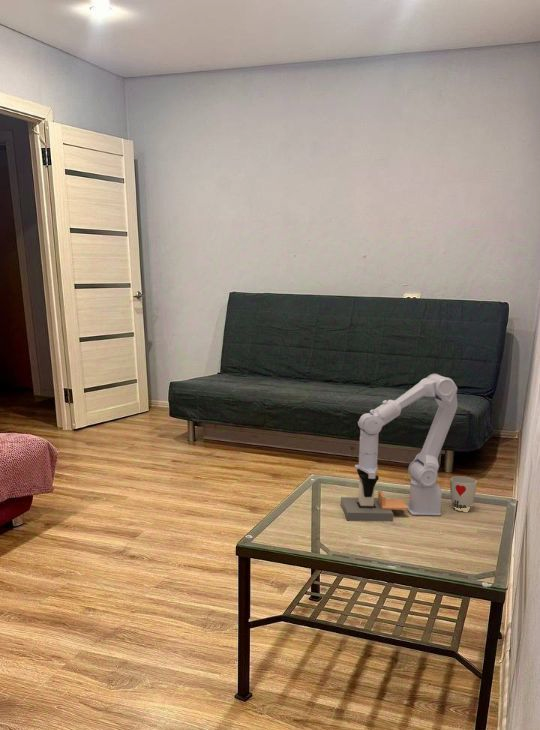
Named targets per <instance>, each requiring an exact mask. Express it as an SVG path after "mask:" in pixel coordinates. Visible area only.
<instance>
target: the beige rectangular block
mask: <svg viewBox="0 0 540 730" xmlns="http://www.w3.org/2000/svg"><path fill="white" fill-rule="evenodd" d="M358 478H359V477H358ZM358 483H359V485H358V498H359V503H360V505H361V506H373V504H374V498H375V489H374V490H373V493H372V497H365V496H364V491H363V483H362V479H361V477H360V478H359V482H358Z"/></svg>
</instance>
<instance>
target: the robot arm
mask: <svg viewBox="0 0 540 730" xmlns="http://www.w3.org/2000/svg"><path fill="white" fill-rule="evenodd" d="M457 392H458V386H457V385H456V383H455V382H454V380H453V379H452V378H450V377H447V376H446V377H445V376H442V375H440V374H438V373H432V374H429V375H428V376H427V377H425V378H422V379H421V380H420V381H419V382H418V383H416V384H415V385H414V386H413V387H411V388H410V389H408V390H407V391H405V393H403V394H401V395H400V396H398V397H397V399H395V400H393V399H388V400H386V399H385V400H383V401H382V402H381V403H382V404H381V405H379V406H377V407H376V408H375V409H372V408H371V409H370V410H369V412H368V413H367V412H366V413H363V414H362V415H361V416H360V418H359V420H358V421H357V425H358V427H359V430H360V431H359V432H360V433H359V434H360V435H359V450H358V451H359V452H358V464H355V465H354V468H355V469H356V473H357V474H358V478H360V477H361V479H362V483H363V491H364V496H365V497H372V493H373V490H374V491H375V487H376V485H377V482H378V481H379V478H380V477H379V475H376V474H377V473H376V472H377V471H378V469H379V468H378V467H379V466H378V457H379V456H378V454H379V451H378V450H379V434H380V432H381V431H382V428H383V427H384V426H386V425H387V424H388V423H390V422H392V421H393V420H394V419H396V418H398V417H399V416H400V415H401V412H402V409H404V408H406V407H407V406H408V407H409V405H410V404H413V403H414V402H417V401H418V400H420V399H421V398H423V397H432V398H434V400H435V402H436V404H437V406H438V407H437V410H436V413H435V415H434V418H433V420H432V422H431V425H430V428H429V431H428V433H427V435H426V439H425V440H424V443H423V446H422V449H421V451H420V452H419V453H417V454H416V455H415V458H414V459H413V461H412V462H410V463H409V466H408V468H407V471H408V475H409V476H410V477H411V479H410V485H409V503H408V504H406V505H407V507H408V510H407V511H408V512H409V514H410V515H412V516H441V515H442V512H441V510H442V509H441V508H442V489H441V486H440V484H436V483H437V481H438V477H439V475H438V471H439V467H440V466H439V465H440V464H439V461H438V460H439V459H438V458H439V455H440V453H441V450H442V447H443V446H444V443H445V440H446V438H447V435H448V433H449V430H450V427H451V424H452V422H453V420H454V417H455V415H456V413H457V412H456V411H457V409H458V398H457V397H458V396H457Z"/></svg>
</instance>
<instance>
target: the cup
mask: <svg viewBox="0 0 540 730" xmlns="http://www.w3.org/2000/svg"><path fill="white" fill-rule="evenodd" d="M449 481H450V482H449V483H450V489H449V490H450V499H451V503H452V507H453V506H454V507H456V508H460V509H461V508H467V507H470V506H471V505H472V506H473V505H474V501H475V497H476V492H477V491H476V490H477V483H478V481H477V479H475V478H472V477H468V476H464V475H462V476H461V475H455V476H454V475H453V476H451V477H450V480H449Z"/></svg>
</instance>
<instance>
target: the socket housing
mask: <svg viewBox="0 0 540 730" xmlns="http://www.w3.org/2000/svg"><path fill="white" fill-rule="evenodd" d="M377 499H378V497H374V504H373V506H361V505H360V503H359V497H354V496H353V497H352V496H351V497H349V496H348V497H343V496H341V497H340V506H341V509H342V511H343V513H344V516H345V519H346V521H348V522H349V521H351V522H353V521H355V522H357V521H358V522H394V512H393V511H392V510H389V509H382V508H381V506H380V504H379V503H378V501H377Z"/></svg>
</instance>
